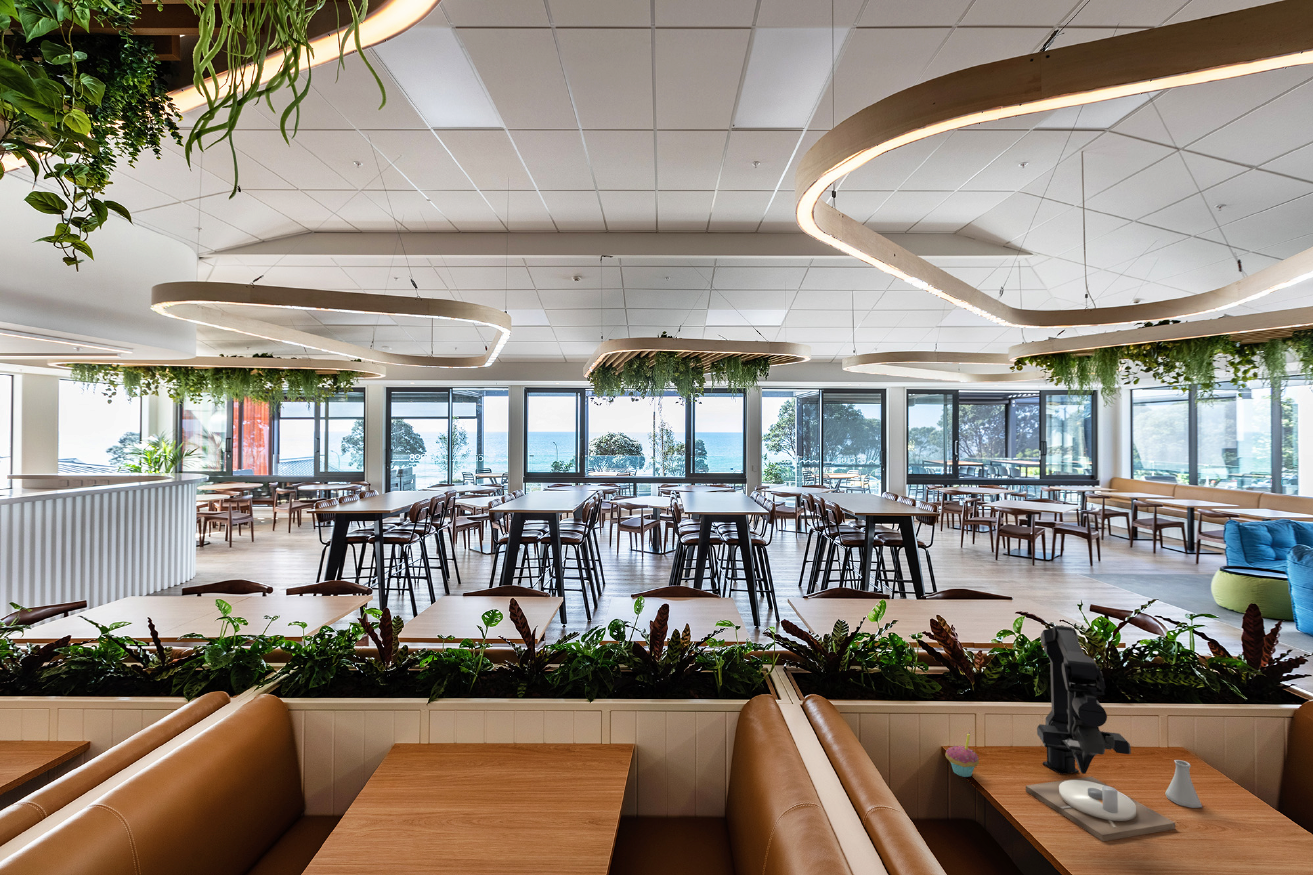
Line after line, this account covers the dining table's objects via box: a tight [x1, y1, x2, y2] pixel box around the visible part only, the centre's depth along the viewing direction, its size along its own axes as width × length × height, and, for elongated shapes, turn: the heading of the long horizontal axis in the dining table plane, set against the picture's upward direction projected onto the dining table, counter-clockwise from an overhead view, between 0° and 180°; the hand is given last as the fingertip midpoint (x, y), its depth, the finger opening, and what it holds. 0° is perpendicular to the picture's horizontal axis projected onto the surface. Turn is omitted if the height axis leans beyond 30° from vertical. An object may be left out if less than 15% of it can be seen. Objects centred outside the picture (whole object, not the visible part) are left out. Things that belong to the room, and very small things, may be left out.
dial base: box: [1025, 776, 1176, 842], centre depth 155 cm, size 22×22×2 cm
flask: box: [1164, 759, 1203, 809], centre depth 159 cm, size 7×7×10 cm
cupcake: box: [945, 731, 980, 778], centre depth 172 cm, size 9×8×12 cm
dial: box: [1059, 779, 1136, 821], centre depth 155 cm, size 16×16×6 cm
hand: (1082, 772), depth 152 cm, fingers closed
